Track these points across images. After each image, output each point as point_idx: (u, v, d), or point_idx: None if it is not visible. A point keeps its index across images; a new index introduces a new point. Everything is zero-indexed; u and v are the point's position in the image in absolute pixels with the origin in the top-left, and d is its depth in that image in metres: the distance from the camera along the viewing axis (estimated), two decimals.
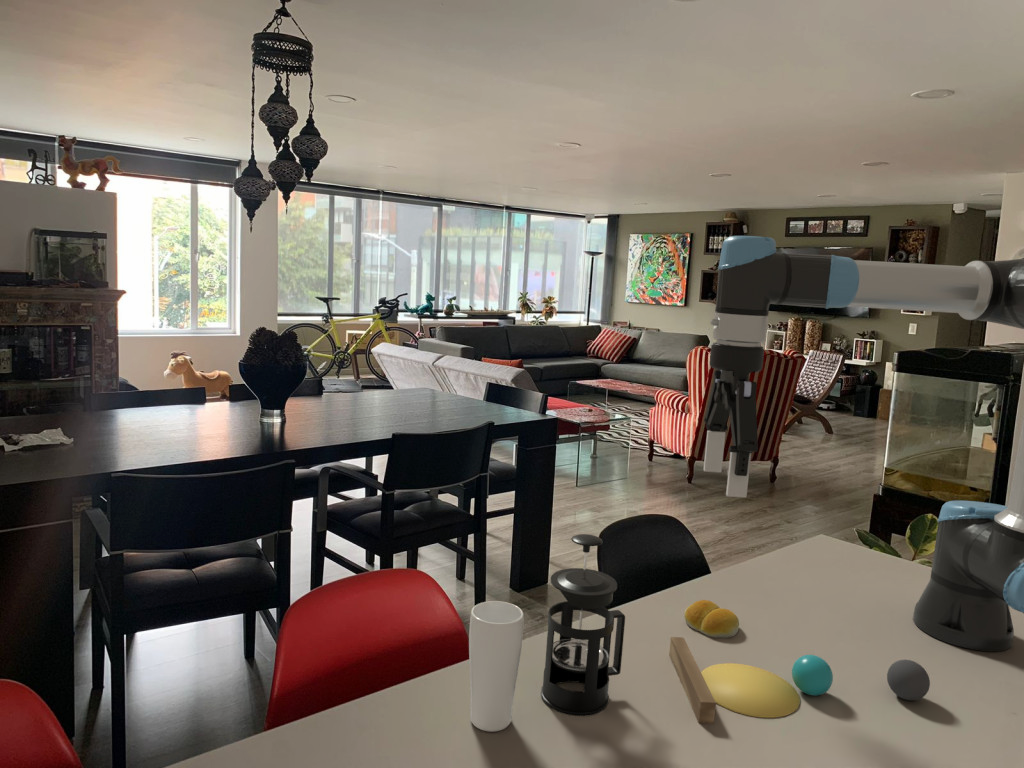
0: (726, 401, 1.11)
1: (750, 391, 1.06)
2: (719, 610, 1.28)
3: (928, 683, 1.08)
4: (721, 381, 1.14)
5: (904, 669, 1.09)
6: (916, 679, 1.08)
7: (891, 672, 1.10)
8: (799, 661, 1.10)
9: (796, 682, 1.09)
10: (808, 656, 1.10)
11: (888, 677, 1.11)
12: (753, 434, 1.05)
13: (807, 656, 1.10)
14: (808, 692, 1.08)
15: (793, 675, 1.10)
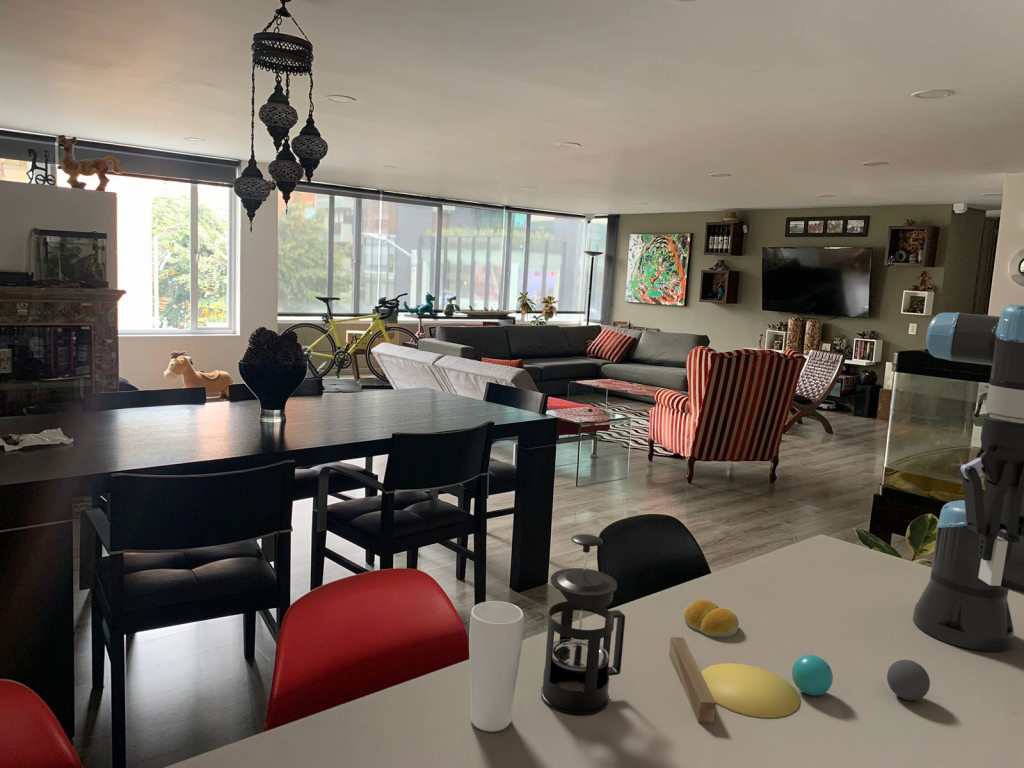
0: None
1: (966, 476, 1.05)
2: (719, 610, 1.28)
3: (928, 683, 1.08)
4: None
5: (904, 669, 1.09)
6: (916, 679, 1.08)
7: (891, 672, 1.10)
8: (799, 661, 1.10)
9: (796, 682, 1.09)
10: (808, 656, 1.10)
11: (888, 677, 1.11)
12: (974, 518, 1.06)
13: (807, 656, 1.10)
14: (808, 692, 1.08)
15: (793, 675, 1.10)
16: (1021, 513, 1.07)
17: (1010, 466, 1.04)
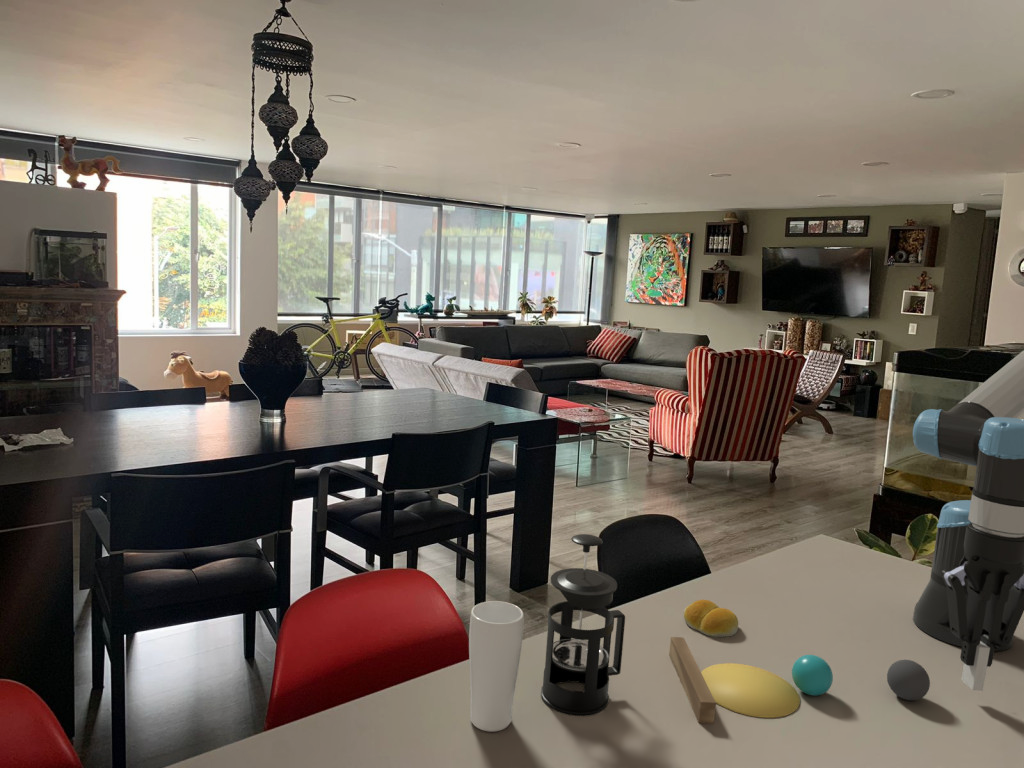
0: None
1: (949, 584, 1.08)
2: (718, 610, 1.28)
3: (928, 683, 1.08)
4: None
5: (904, 669, 1.09)
6: (916, 679, 1.08)
7: (891, 672, 1.10)
8: (799, 661, 1.10)
9: (796, 682, 1.09)
10: (808, 656, 1.10)
11: (888, 677, 1.11)
12: (957, 625, 1.08)
13: (807, 656, 1.10)
14: (808, 692, 1.08)
15: (793, 675, 1.10)
16: (1002, 619, 1.09)
17: (992, 576, 1.06)
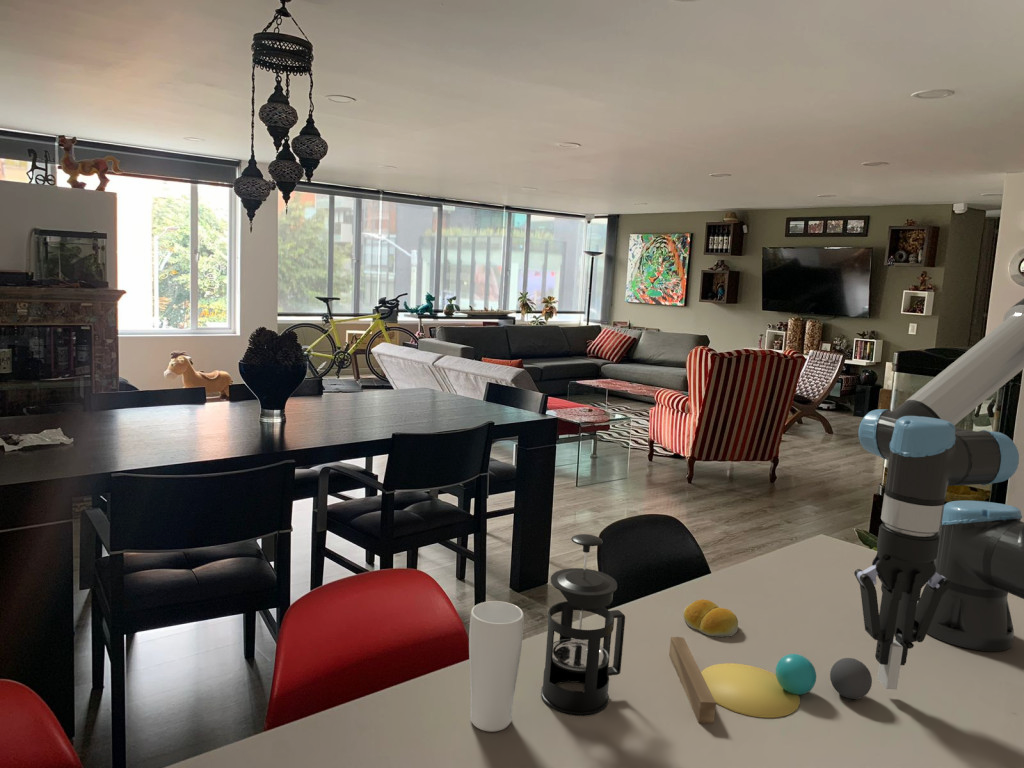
0: None
1: (862, 583, 1.08)
2: (718, 609, 1.28)
3: (844, 687, 1.08)
4: None
5: None
6: (856, 696, 1.08)
7: None
8: (776, 674, 1.10)
9: (789, 692, 1.10)
10: (779, 664, 1.10)
11: None
12: (870, 624, 1.08)
13: (778, 664, 1.10)
14: (803, 693, 1.08)
15: (782, 687, 1.10)
16: (916, 618, 1.09)
17: (903, 575, 1.06)
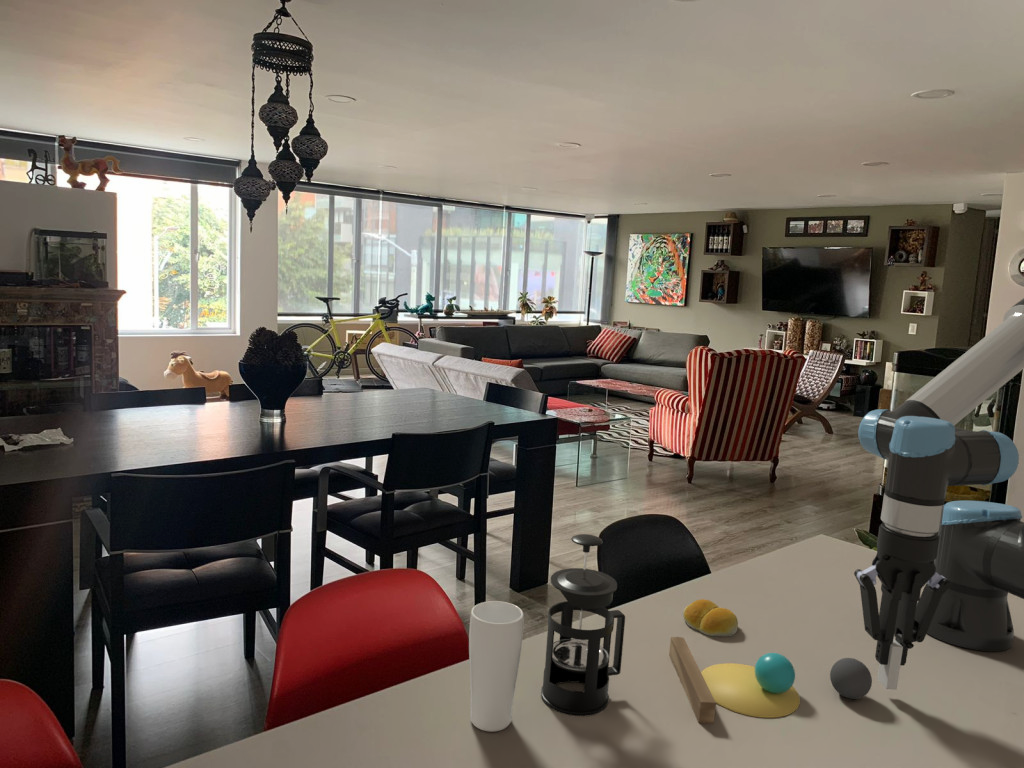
0: None
1: (861, 584, 1.08)
2: (718, 609, 1.28)
3: (844, 687, 1.08)
4: None
5: None
6: (856, 696, 1.08)
7: None
8: None
9: None
10: None
11: None
12: (869, 624, 1.08)
13: None
14: (792, 682, 1.08)
15: None
16: (916, 618, 1.09)
17: (903, 575, 1.06)
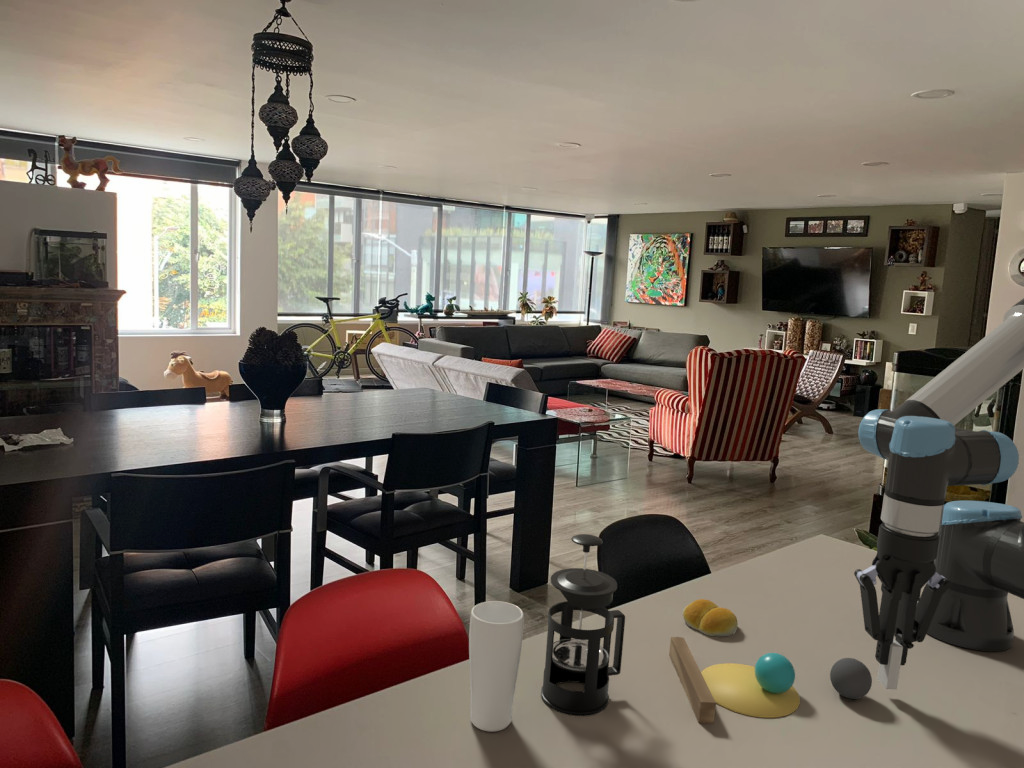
0: None
1: (861, 584, 1.08)
2: (718, 609, 1.29)
3: (844, 687, 1.08)
4: None
5: None
6: (856, 696, 1.08)
7: None
8: None
9: None
10: None
11: None
12: (869, 624, 1.08)
13: None
14: (792, 682, 1.08)
15: None
16: (916, 618, 1.09)
17: (903, 575, 1.06)
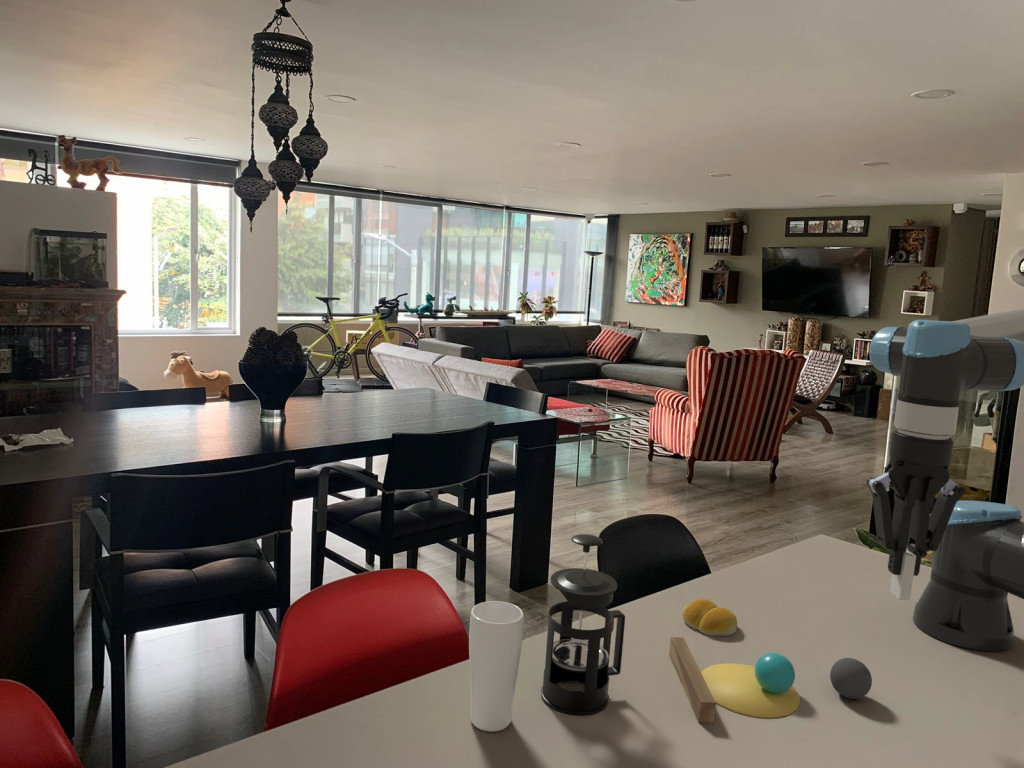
0: None
1: (874, 491, 1.06)
2: (717, 609, 1.29)
3: (844, 687, 1.08)
4: None
5: None
6: (856, 696, 1.08)
7: None
8: None
9: None
10: None
11: None
12: (882, 533, 1.06)
13: None
14: (792, 682, 1.08)
15: None
16: (930, 527, 1.07)
17: (916, 481, 1.04)
